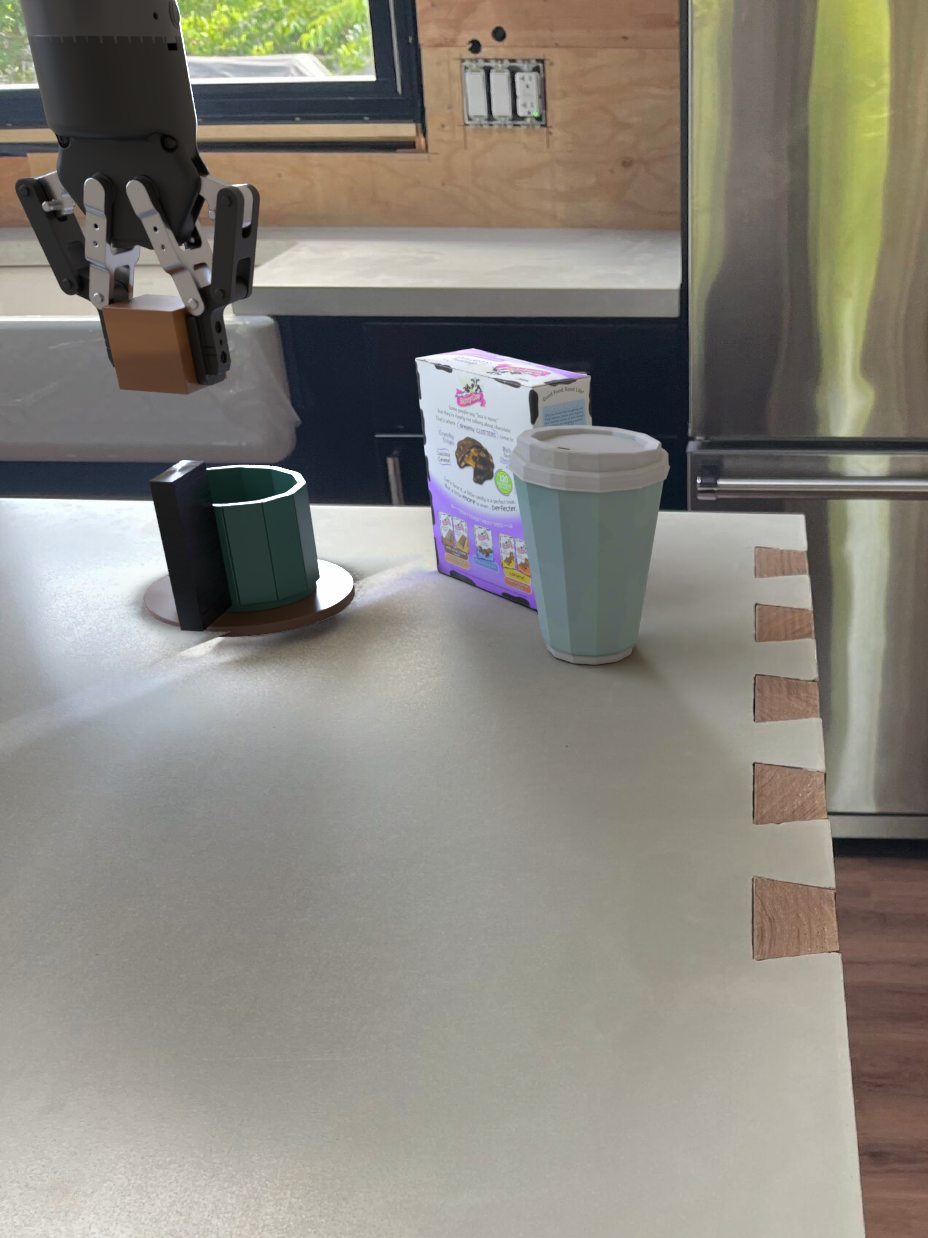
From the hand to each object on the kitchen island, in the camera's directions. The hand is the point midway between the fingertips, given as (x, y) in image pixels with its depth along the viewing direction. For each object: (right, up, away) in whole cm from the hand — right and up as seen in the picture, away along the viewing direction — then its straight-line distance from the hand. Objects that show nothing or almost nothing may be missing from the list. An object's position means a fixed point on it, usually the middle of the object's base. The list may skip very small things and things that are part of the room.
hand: (173, 378), depth 78 cm
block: (0, 0, 0) cm, 0 cm away
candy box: (+16, -5, +28) cm, 33 cm away
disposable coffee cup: (+23, -12, +17) cm, 32 cm away
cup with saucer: (-3, -8, +20) cm, 22 cm away
